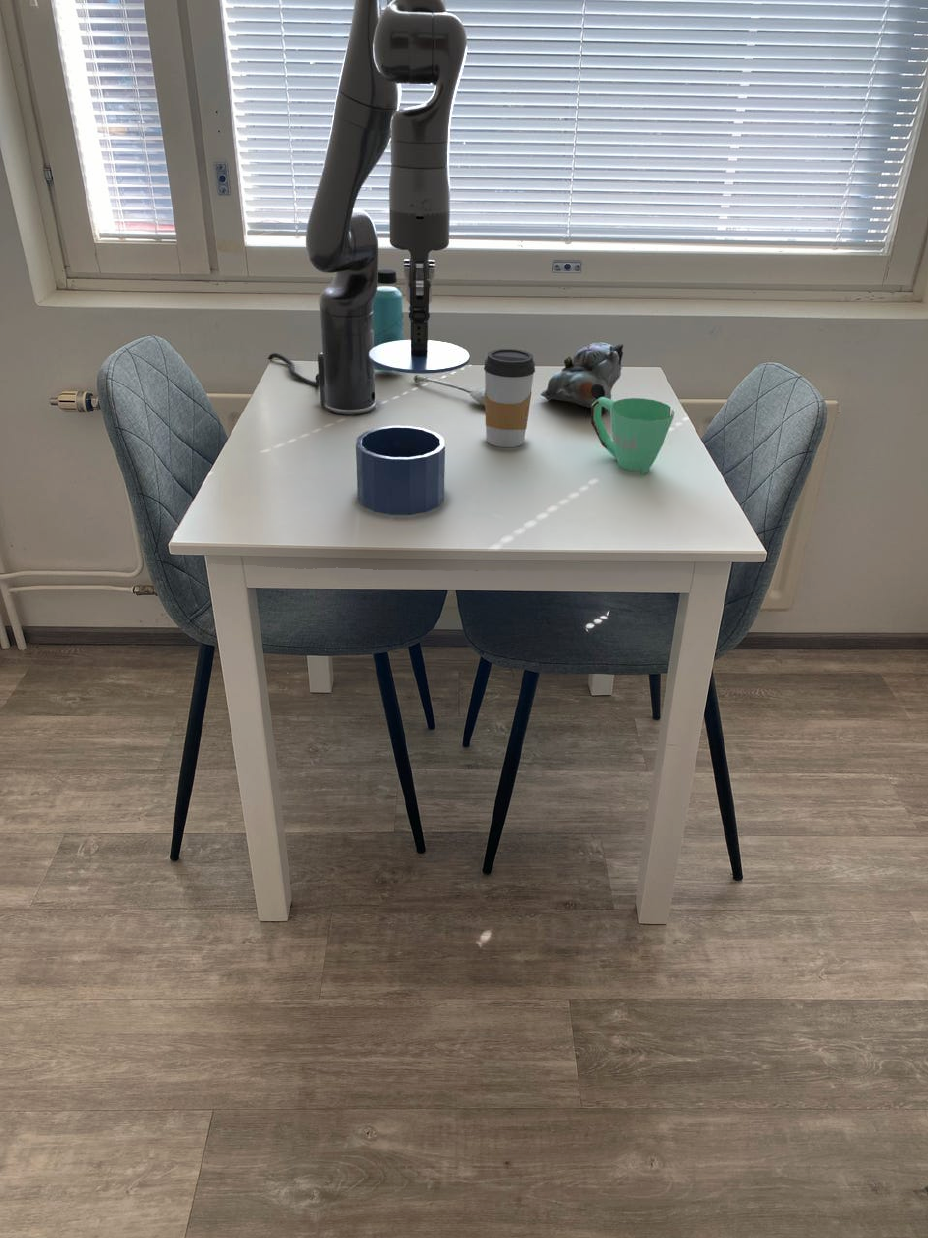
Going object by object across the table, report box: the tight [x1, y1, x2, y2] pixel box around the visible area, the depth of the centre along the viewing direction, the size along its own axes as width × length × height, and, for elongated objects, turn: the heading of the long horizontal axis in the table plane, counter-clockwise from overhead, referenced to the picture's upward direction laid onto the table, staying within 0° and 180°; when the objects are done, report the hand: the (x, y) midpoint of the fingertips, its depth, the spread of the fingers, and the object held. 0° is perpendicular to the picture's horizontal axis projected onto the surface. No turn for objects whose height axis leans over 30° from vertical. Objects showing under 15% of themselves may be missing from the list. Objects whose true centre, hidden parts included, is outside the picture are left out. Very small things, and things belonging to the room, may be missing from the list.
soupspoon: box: [413, 374, 485, 407], centre depth 171 cm, size 22×3×7 cm
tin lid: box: [369, 322, 470, 375], centre depth 120 cm, size 14×14×6 cm
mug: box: [590, 397, 675, 475], centre depth 144 cm, size 15×10×10 cm
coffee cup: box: [483, 348, 536, 448], centre depth 148 cm, size 8×8×15 cm
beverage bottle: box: [373, 268, 404, 372], centre depth 176 cm, size 6×7×20 cm
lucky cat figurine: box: [540, 342, 624, 415], centre depth 166 cm, size 15×12×14 cm
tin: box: [355, 425, 446, 516], centre depth 130 cm, size 13×13×9 cm
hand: (418, 345), depth 120 cm, fingers closed on tin lid, 2 cm apart
